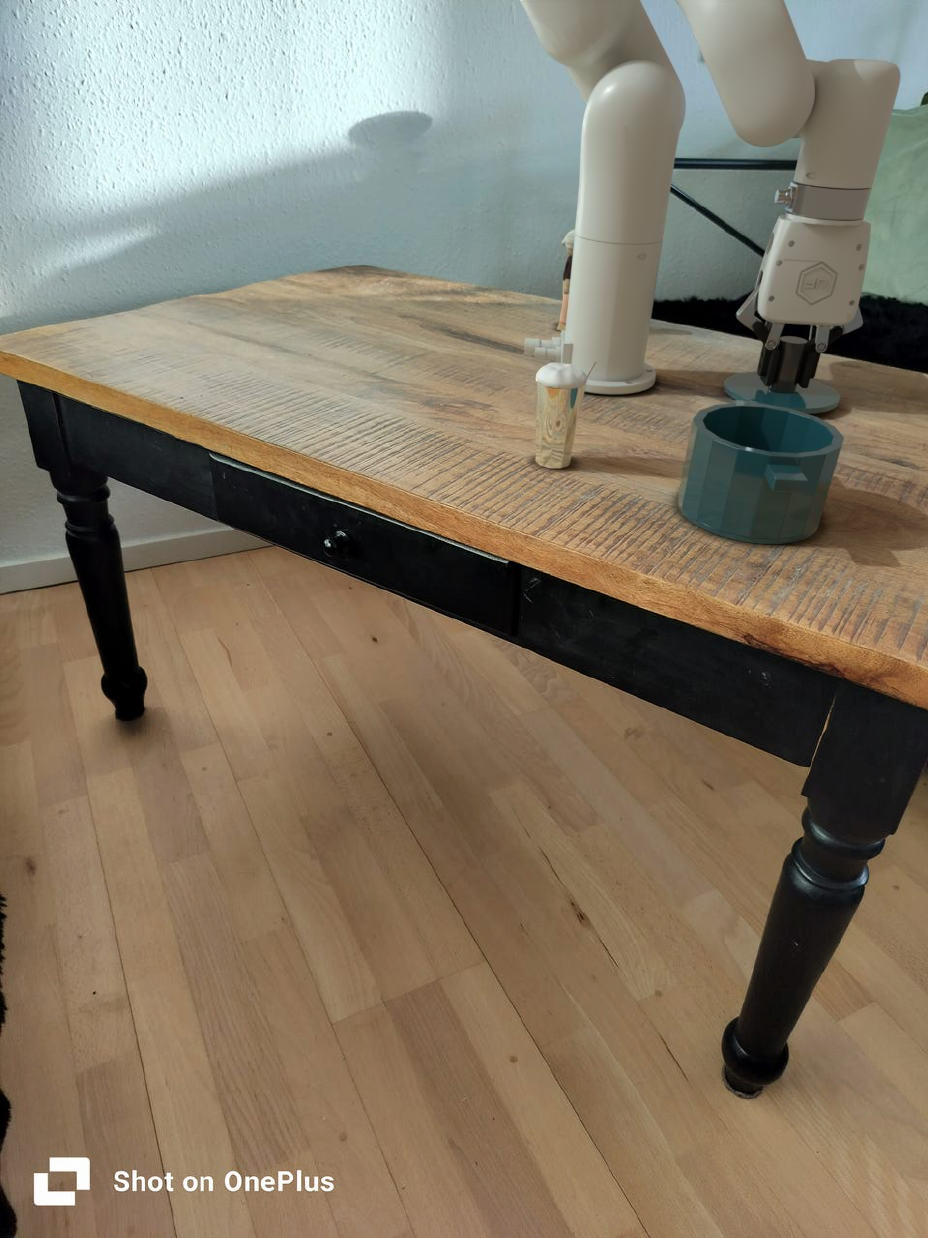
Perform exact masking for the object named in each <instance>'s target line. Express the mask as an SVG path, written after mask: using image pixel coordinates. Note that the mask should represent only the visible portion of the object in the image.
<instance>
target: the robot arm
mask: <svg viewBox="0 0 928 1238" xmlns="http://www.w3.org/2000/svg"><path fill="white" fill-rule="evenodd" d="M518 1H519V3H520V4H521V6H522V8H523V11H524V12H525V14H526V16H527V19H528V20H529V22H530V24H531V26H532V28H533V31H534V33H535V35H536V37H537V39H538V41H539V44H540V46H541V47H542V49H543V50H544V51H545V52H546V54H547V56H549V58H551V59H553V60H554V61H555V62H556V63H558V64H560V65H563V66H564V67H565V69H566V70H567V73H568V74H569V76H570V78H571V80H572V82H573V83H574V85H575V87H576V89H577V91H578V93H579V94H580V96H581V98H582V100H583V102H584V103H585V105H586V106H585V109H584V113H583V118H582V126H581V134H580V153H579V155H580V156H579V157H580V158H579V178H578V179H579V180H578V194H577V203H576V204H577V205H576V207H577V208H576V215H575V223H574V224H575V225H574V229H575V239H574V249H573V259H572V269H571V279H570V289H569V298H568V308H567V318H566V328H565V330H561V331H560V336H552V337H551V339H541V338H535V337H525V338H524V339H525V340H524V351H523V355H524V356H534V360H538V361H539V360H541V361H542V360H543V361H546V360H551V361H550V362H549V363H563V364H573V365H574V366H576V367H578V368H580V369H581V370H582V371H583V372H584V373H585V374H586V376H587V375H588V373H589V371H590V370H591V368H592V366H593V364H594V363H595V362H596V364H595V366H594V368H593V369H592V371H591V373H590V375H589V377H588V378H587V382H586V387H585V392H584V393H589V394H599V395H629V394H636V393H640V392H643V391H646V390H648V389H650V388H652V387H653V386H654V385H655V382H656V378H657V372H656V370H655V369H654V367H652V366H651V365H649V364H648V363H646V362H645V361H646V353H647V347H648V340H649V333H650V328H651V327H650V326H651V321H652V314H653V307H654V301H655V294H656V287H657V281H658V274H659V268H660V264H661V263H660V261H661V256H662V249H663V242H664V235H665V234H664V233H665V228H666V221H667V214H668V209H669V200H670V194H671V187H672V180H673V173H674V168H675V159H676V154H677V149H678V144H679V137H680V132H681V130H682V127H683V125H684V122H685V118H686V111H687V110H686V109H687V108H686V107H687V105H686V104H687V103H686V94H685V90H684V87H683V84H682V82H681V80H680V77H679V75H678V74H677V71H676V69H675V68H674V66H673V63H672V61H671V60H670V58H669V55H668V54H667V52H666V49H665V47H664V45H663V43H662V41H661V39H660V38H659V36H658V34H657V31H656V30H655V27H654V25H653V23H652V21H651V19H650V17H649V15H648V14H647V11H646V9H645V7H644V5H643V3H642V1H641V0H518ZM675 3H677V5H678V7H679V8H680V10H681V11H682V13H683V15H684V17H685V19H686V21H687V23H688V25H689V27H690V30H691V32H692V34H693V37H694V38H695V41H696V45H697V47H698V49H699V51H700V53H701V55H702V58H703V60H704V63H705V66H706V68H707V70H708V73H709V75H710V77H711V79H712V82H713V84H714V86H715V90H716V91H717V93H718V96H719V98H720V101H721V103H722V106H723V108H724V111H725V113H726V115H727V118H728V120H729V123H730V125H731V127H732V129H733V130H734V132H735V134H736V135H737V136H738V138H740V140H742V141H743V142H745V143H746V144H748V145H750V146H753V147H758V148H772V147H777V146H779V145H782V144H784V143H786V142H787V141H790V140H791V139H801V144H800V148H799V153H798V158H797V162H796V166H795V170H794V175H793V181H790V183H789V186H788V188H786V187H785V188H784V189H777V190H776V191H775V195H774V204H775V205H781V206H782V207H784V210H785V214H780V215H778V218H777V220H776V223H775V224H774V226H773V229H772V231H771V234H770V236H769V240H768V242H767V245H766V248H765V251H764V253H763V257H762V260H761V264H760V266H759V271H758V274H757V278H756V281H755V285H754V290H753V291H752V292H751V294H749V296H748V297H747V298H746V300H745V301H744V303H743V304H742V305H741V306H740V308H738V310H737V311H736V313H735V317H736V319H737V320H738V321H739V322H740V323H741V324H743V325H744V326H745V327H747V328H748V329H750V330H751V331H753V333H754V334H755V335H756V336H757V338H758V340H760V342H761V343H762V346H761V350H760V355H759V358H758V364H757V369H756V372H757V374H758V376H760V379H761V381H762V382H763V384H764V385H765V386H771V385H772V384H773V381H774V376H775V372H776V368H777V364H778V360H779V356H780V351H779V350H778V349H777V348H778V343H779V339H780V338H781V335H782V333H783V329H784V327H785V325H786V324H788V325H789V324H791V325H809V326H810V327H809V328H810V330H809V337H808V340H807V341H808V344H807V348H806V352H805V356H804V360H803V364H802V367H801V371H800V375H799V379H798V384H799V385H800V387H802V388H808V385H809V381H810V379H813V380H814V379H815V377H816V374H817V373H816V372H817V370H818V366H819V362H820V358H821V354H822V353H825V351H826V350H827V349H828V347H829V346H830V345H831V344H833V343H835V342H836V341H837V340H838V339H840V338H841V337H842V336H843V335H846V334H848V333H851V332H853V331H855V330H857V329H860V328H861V327H862V326H863V324H864V321H863V316H862V313H861V308H860V306H859V304H860V299H861V297H862V291H863V286H864V281H865V276H866V270H867V264H868V259H869V250H870V242H871V232H872V231H871V230H872V224H871V223H870V222H868V221H865V220H864V218H865V215H866V211H867V207H868V203H869V200H870V196H871V193H872V187H873V185H874V182H875V177H876V175H877V171H878V166H879V164H880V160H881V156H882V151H883V149H884V144H885V141H886V137H887V133H888V129H889V126H890V121H891V119H892V115H893V111H894V107H895V104H896V100H897V96H898V92H899V88H900V83H901V70H900V67H899V66H898V65H897V64H896V63H894V62H892V61H888V60H880V59H864V58H863V59H862V58H835V59H832V60H829V61H824V60H823V61H822V60H816V59H815V60H814V59H808V58H807V56H806V54H805V51H804V49H803V46H802V44H801V41H800V39H799V36H798V33H797V31H796V27H795V25H794V23H793V20H792V18H791V15H790V13H789V10H788V7H787V5H786V2H785V0H675ZM756 311H757V313H758V314H759V317H761V318H762V319H763V320H765V323H763V321H762V320H761V319H759V318H758V317H757V316H755V313H756Z"/></svg>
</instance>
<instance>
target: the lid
mask: <svg viewBox="0 0 928 1238" xmlns="http://www.w3.org/2000/svg"><path fill="white" fill-rule="evenodd" d="M808 341H809V340H807V339H805V338H803V337H800V336H799V337H798V336H792V335H785V336H780V338H779V341H778V348H777V349H778V350H779V351H780V356H779V360H778V364H777V368H776V372H775V376H774V381H773V384H772V385H771V386H765V385H764V384H763V382H762V381H761V379H760V376H758V374H757V371H746V372H739V373H735V374H732V375H729V377H727V378H726V379H725V381H724V384H723V390H724V392H725V393H726V394H727V395H728V396H729V397H731V398H732V399H733V400H740V401H757V403H758V404H765V405H772V406H777V407H783V408H789V409H792V410H796V411H800V412H803V413H806V414H809V415H811V414H820V413H821V414H822V413H826V412H829V411H832V410H835V409H836V408H837V407H838V406H839V405H840V402H841V401H840V400H841V395H840V393H839V391H837V390H836V389H834V388H833V387H832V386H830V385H828V384H826V383H824V382H821V381H819V380H817V379H814V378H813V379H810V381H809V385H808V388H802V387H800V385H799V384H798V379H799V375H800V371H801V367H802V364H803V360H804V356H805V352H806V348H807V344H808Z"/></svg>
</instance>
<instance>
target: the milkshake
mask: <svg viewBox="0 0 928 1238" xmlns="http://www.w3.org/2000/svg"><path fill="white" fill-rule="evenodd" d="M595 364H596V362H595V363H594V364H593V366H592V368H591V370H590V371H589V373H588V375H587V376H586V374H585V373H584V372H583V371H582V370H581V369H580V368H578V367H576V366H574V365H573V364H563V363H550V362H549V363H546V364H545V365H543V366H542V367H540V368H539V369H538V370H537V372H536V374H535V462H536V464H538V465H539V466H540V467H543V468H547V469H555V470H556V469H559V470H560V469H564V468H567V467H570V464H571V460H572V455H573V450H574V446H575V445H574V444H575V438H576V433H577V428H578V423H579V418H580V413H581V409H582V405H583V401H584V397H585V393H586V392H585V387H586V382H587V378H588V377H589V375H590V373H591V371H592V369H593V368H594V366H595Z"/></svg>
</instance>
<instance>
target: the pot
mask: <svg viewBox="0 0 928 1238" xmlns="http://www.w3.org/2000/svg"><path fill="white" fill-rule="evenodd" d="M844 440H845V437H844V435H843V434H842V433H841V432H840V431H839V430H838V428H837V427H836V426H835V425H833V424H831V423H829V422H827V421H826V420H824V419H821V418H820V417H819V416H816V415H811V414H806V413H803V412H800V411H796V410H792V409H789V408H783V407H777V406H772V405H765V404H758V403H757V401H740V400H736V399H729V402H728V403H721V404H720V403H719V404H713V405H711V406H708V407H706V408H702V409H700V410H698V412H697V413H696V414H695V416H694V417H693V418H692V421H691V426H690V432H689V437H688V442H687V448H686V453H685V456H684V457H685V458H684V464H683V469H682V472H681V473H682V474H681V478H680V484H679V488H678V489H679V490H678V495H677V497H678V503H677V505H678V508H679V510H680V513H682V515H683V516H684V517H685V518H686V519H687V520H688V521H690V522H691V523H693V524H694V525H695V526H696V527H698V528H700V529H703V530H705V531H706V532H710V533H711V534H714V535H717V536H720V537H723V538H726V539H729V540H733V541H738V542H744V543H748V544H749V543H750V544H758V545H759V544H760V545H785V544H791V543H797V542H800V541H802V540H803V541H804V540H805V539H807V538H809V537H811V536H812V535H814V534H815V533H816V532H817V529H818V528H819V526H820V523H821V522H820V521H821V518H822V515H823V511H824V508H825V505H826V501H827V498H828V495H829V491H830V488H831V484H832V481H833V478H834V475H835V471H836V467H837V465H838V460H839V457H840V454H841V451H842V448H843V444H844Z"/></svg>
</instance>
